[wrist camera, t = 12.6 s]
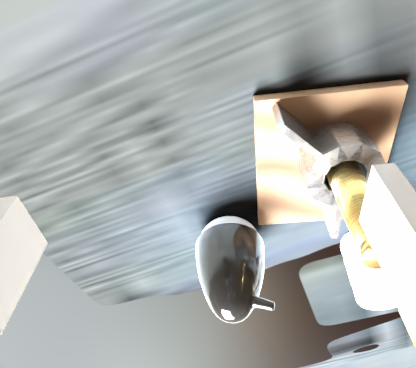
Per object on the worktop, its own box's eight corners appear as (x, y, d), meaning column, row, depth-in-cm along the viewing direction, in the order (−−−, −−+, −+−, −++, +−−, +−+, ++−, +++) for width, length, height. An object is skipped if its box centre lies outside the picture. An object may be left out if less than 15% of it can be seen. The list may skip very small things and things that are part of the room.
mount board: (252, 95, 38) (254, 101, 37) (402, 79, 37) (408, 84, 35) (257, 217, 51) (258, 225, 49) (369, 209, 49) (372, 216, 48)
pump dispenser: (266, 244, 54) (280, 335, 43) (205, 253, 56) (203, 343, 44) (257, 200, 48) (271, 292, 36) (189, 211, 50) (181, 302, 38)
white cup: (397, 233, 52) (429, 288, 45) (362, 260, 57) (385, 315, 49) (359, 217, 50) (386, 272, 42) (325, 246, 55) (344, 301, 47)
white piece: (271, 103, 37) (278, 125, 33) (381, 91, 36) (402, 112, 32) (271, 216, 48) (276, 242, 44) (355, 209, 47) (368, 236, 43)
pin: (319, 141, 40) (366, 243, 28) (349, 138, 40) (411, 240, 27) (316, 165, 42) (359, 269, 30) (345, 163, 42) (400, 267, 30)
